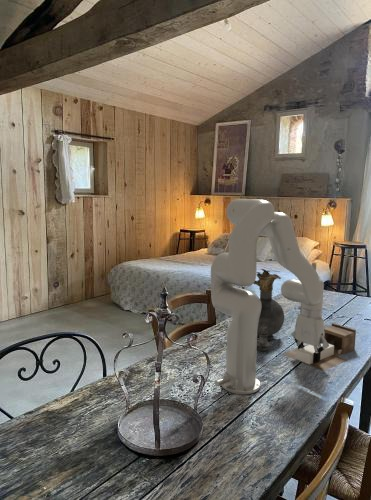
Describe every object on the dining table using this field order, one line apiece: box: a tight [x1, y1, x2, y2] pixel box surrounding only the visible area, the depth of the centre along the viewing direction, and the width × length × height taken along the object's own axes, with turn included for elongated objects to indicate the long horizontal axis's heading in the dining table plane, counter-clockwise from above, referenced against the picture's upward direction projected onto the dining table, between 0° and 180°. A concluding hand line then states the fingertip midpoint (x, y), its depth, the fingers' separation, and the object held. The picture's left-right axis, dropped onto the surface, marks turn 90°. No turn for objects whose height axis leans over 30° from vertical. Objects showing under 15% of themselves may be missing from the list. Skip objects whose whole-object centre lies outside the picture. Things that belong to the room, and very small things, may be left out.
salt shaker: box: [257, 323, 272, 352], centre depth 157 cm, size 6×6×12 cm
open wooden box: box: [282, 322, 357, 372], centre depth 155 cm, size 26×18×9 cm
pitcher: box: [241, 268, 285, 341], centre depth 173 cm, size 11×19×30 cm, turn 56°
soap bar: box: [296, 344, 334, 365], centre depth 152 cm, size 15×6×4 cm, turn 127°
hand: (308, 358), depth 150 cm, fingers closed on soap bar, 6 cm apart
